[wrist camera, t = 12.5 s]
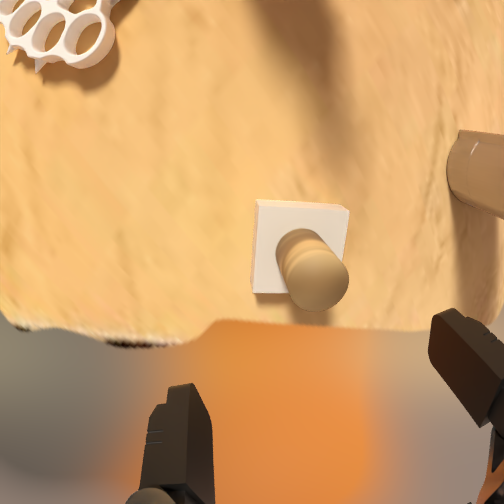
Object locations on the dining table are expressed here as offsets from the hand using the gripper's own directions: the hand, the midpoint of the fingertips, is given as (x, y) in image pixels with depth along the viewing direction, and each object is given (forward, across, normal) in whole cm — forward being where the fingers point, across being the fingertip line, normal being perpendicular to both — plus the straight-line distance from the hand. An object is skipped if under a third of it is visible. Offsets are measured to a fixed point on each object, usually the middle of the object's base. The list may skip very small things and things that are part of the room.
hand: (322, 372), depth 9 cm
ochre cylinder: (+22, -4, +6) cm, 23 cm away
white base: (+25, -4, +6) cm, 26 cm away
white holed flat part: (+26, +15, -27) cm, 40 cm away
